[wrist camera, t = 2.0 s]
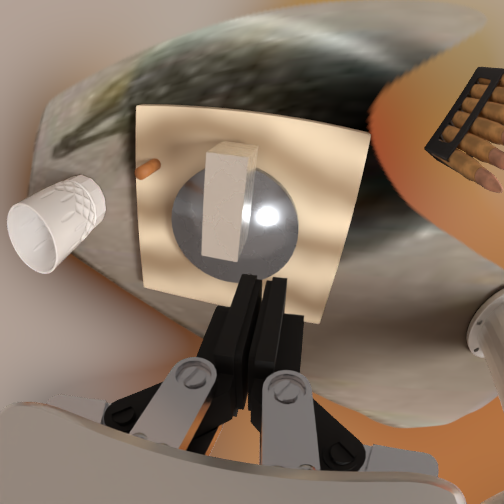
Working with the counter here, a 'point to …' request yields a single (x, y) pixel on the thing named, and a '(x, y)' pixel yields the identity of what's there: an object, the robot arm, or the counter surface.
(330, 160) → the dial panel
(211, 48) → the counter surface
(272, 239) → the dial
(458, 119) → the ammunition clip
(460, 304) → the counter surface
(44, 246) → the white cup
